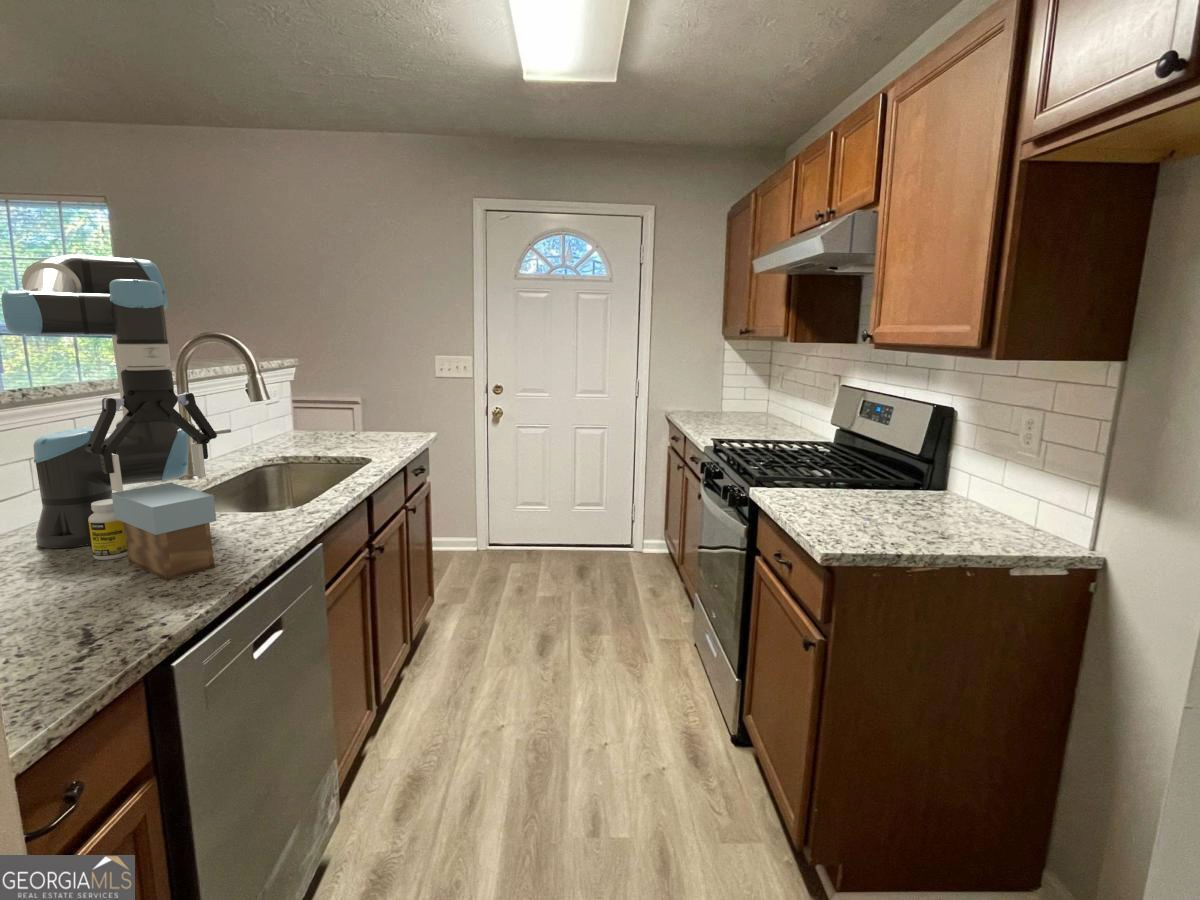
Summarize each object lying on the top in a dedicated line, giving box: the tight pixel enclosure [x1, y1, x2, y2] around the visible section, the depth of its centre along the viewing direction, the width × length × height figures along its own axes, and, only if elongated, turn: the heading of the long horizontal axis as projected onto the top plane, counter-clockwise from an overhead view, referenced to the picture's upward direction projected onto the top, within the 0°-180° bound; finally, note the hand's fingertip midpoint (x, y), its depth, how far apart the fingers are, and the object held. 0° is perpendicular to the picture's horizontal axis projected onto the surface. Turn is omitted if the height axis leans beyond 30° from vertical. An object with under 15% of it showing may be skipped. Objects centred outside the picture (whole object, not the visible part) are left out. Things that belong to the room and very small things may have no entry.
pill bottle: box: [88, 499, 128, 561], centre depth 122 cm, size 6×6×11 cm
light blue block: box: [112, 482, 217, 535], centre depth 116 cm, size 17×10×6 cm, turn 57°
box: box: [123, 522, 215, 582], centre depth 117 cm, size 16×8×9 cm, turn 57°
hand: (161, 483), depth 115 cm, fingers open, 13 cm apart
